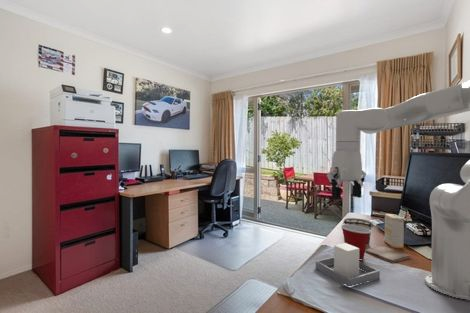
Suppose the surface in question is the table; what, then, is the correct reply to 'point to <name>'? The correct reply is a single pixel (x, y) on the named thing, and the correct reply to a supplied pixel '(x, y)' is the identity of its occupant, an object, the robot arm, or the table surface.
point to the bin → (370, 275)
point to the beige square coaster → (387, 254)
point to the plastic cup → (356, 237)
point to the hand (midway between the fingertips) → (346, 197)
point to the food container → (359, 224)
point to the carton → (346, 259)
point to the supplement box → (394, 230)
